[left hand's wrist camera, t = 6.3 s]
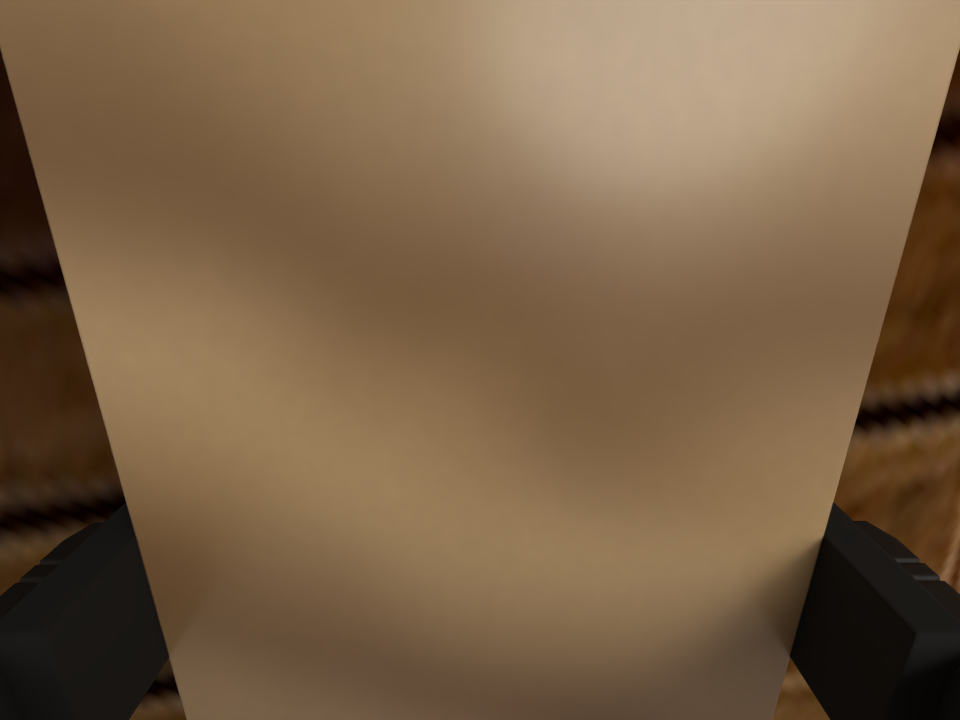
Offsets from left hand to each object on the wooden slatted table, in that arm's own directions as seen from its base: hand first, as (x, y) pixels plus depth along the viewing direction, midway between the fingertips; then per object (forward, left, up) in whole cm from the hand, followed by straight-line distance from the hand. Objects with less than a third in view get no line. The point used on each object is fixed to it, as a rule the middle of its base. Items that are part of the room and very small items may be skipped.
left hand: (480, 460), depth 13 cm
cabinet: (+1, +6, -4) cm, 7 cm away
